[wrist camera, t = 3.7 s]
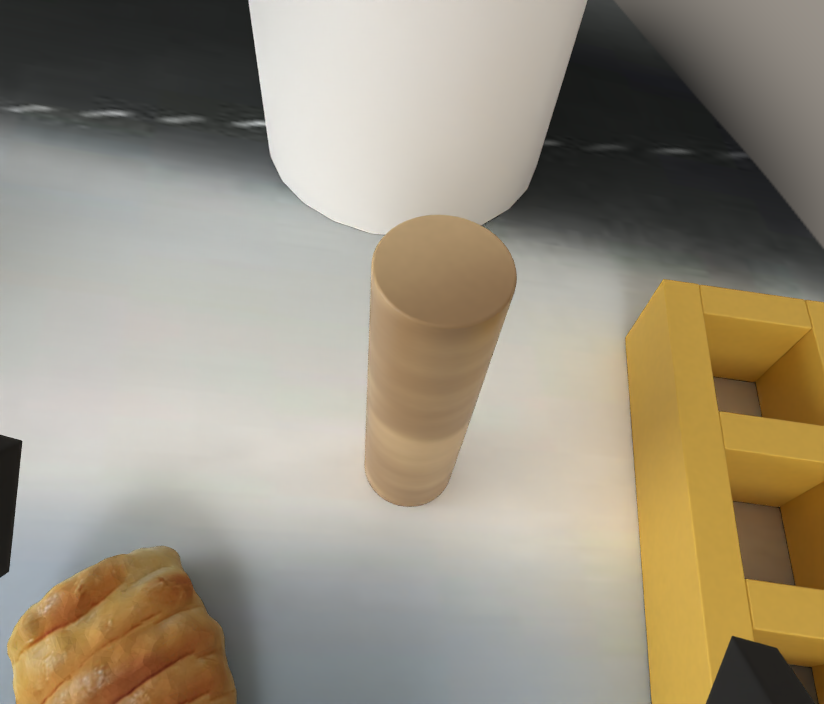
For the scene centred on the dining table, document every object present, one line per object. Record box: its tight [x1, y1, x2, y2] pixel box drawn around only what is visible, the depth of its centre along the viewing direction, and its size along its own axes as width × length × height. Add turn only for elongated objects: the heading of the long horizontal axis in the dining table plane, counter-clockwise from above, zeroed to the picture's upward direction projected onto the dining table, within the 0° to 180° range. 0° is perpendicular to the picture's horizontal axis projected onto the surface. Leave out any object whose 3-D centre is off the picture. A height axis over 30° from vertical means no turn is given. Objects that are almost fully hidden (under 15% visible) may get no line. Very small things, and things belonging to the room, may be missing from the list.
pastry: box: [7, 546, 237, 704], centre depth 22 cm, size 9×7×4 cm
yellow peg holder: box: [625, 279, 824, 704], centre depth 26 cm, size 8×22×5 cm, turn 173°
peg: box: [364, 215, 517, 507], centre depth 23 cm, size 4×4×14 cm
